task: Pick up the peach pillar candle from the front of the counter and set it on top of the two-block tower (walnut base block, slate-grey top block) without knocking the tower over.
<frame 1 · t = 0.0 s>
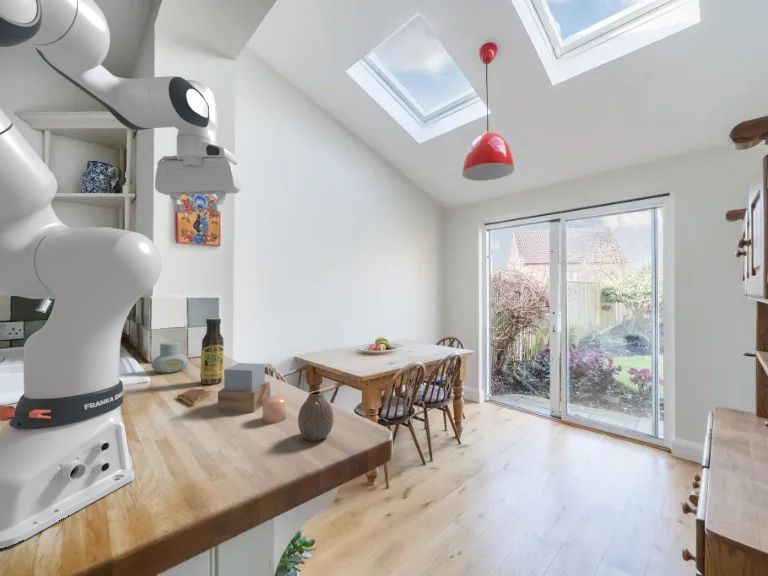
hand: (198, 211, 84), 48 cm above the countertop, tool pointing down, fingers open, 8 cm apart
peach pillar candle: (274, 419, 78), on the countertop
top block: (245, 386, 87), point 5 cm above the countertop, touching base block
toasted sandwich: (199, 400, 92), on the countertop
sauce bottle: (212, 383, 106), on the countertop
base block: (245, 406, 87), on the countertop, touching top block
air freshener: (170, 372, 121), on the countertop
vase: (316, 437, 69), on the countertop
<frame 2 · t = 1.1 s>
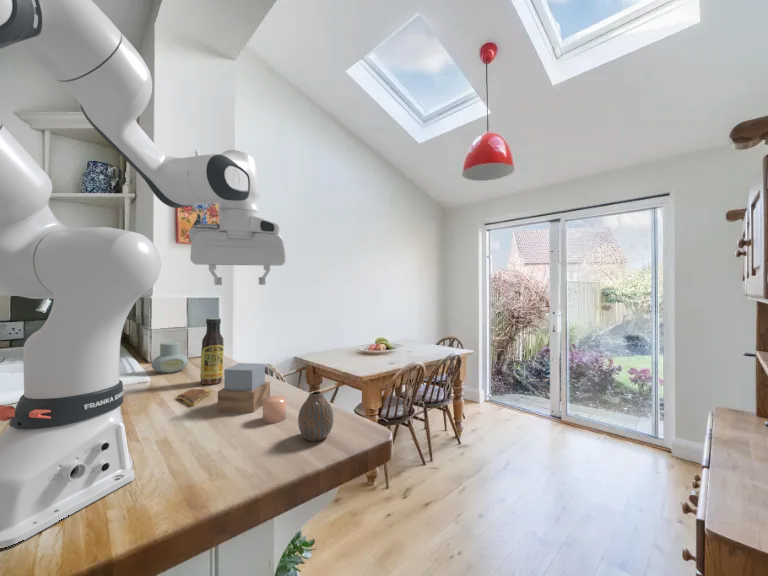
hand: (240, 284, 80), 30 cm above the countertop, tool pointing down, fingers open, 8 cm apart
nothing on the countertop moved.
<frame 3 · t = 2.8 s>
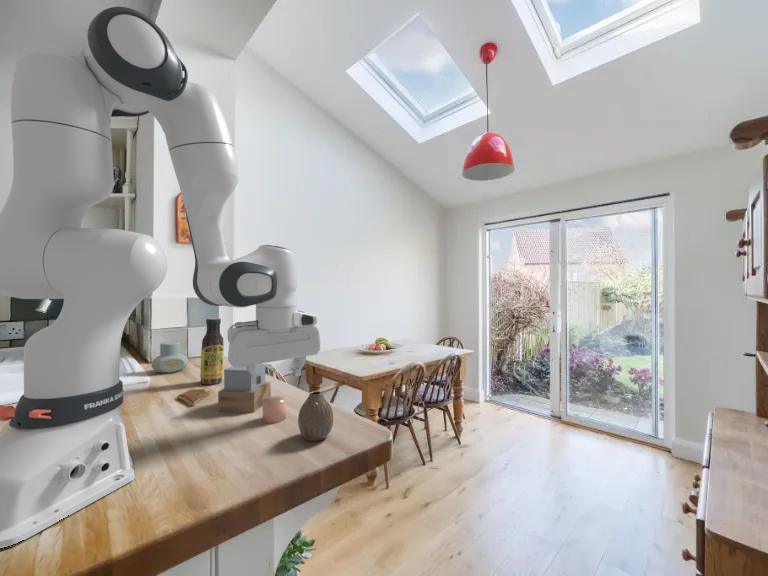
hand: (277, 379, 78), 9 cm above the countertop, tool pointing down, fingers open, 8 cm apart
nothing on the countertop moved.
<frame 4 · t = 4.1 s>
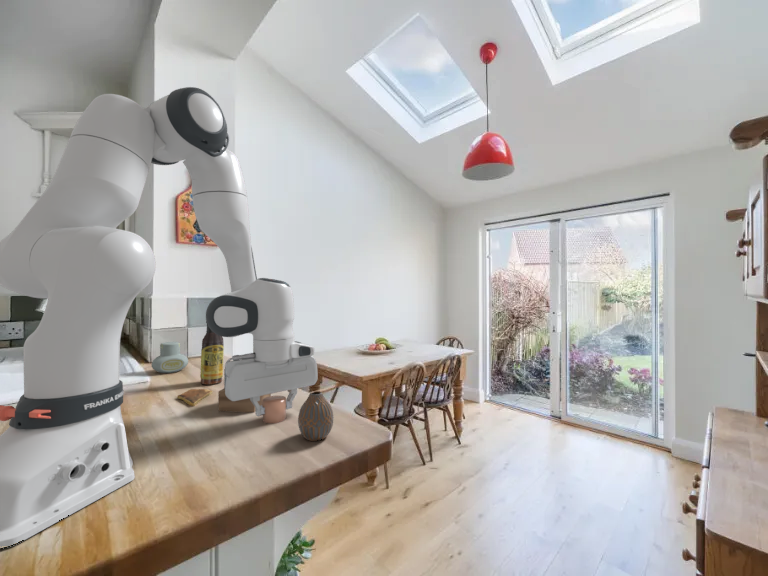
hand: (274, 411, 78), 2 cm above the countertop, tool pointing down, fingers closed on peach pillar candle, 5 cm apart
peach pillar candle: (274, 418, 78), on the countertop, touching gripper
everything else where it was.
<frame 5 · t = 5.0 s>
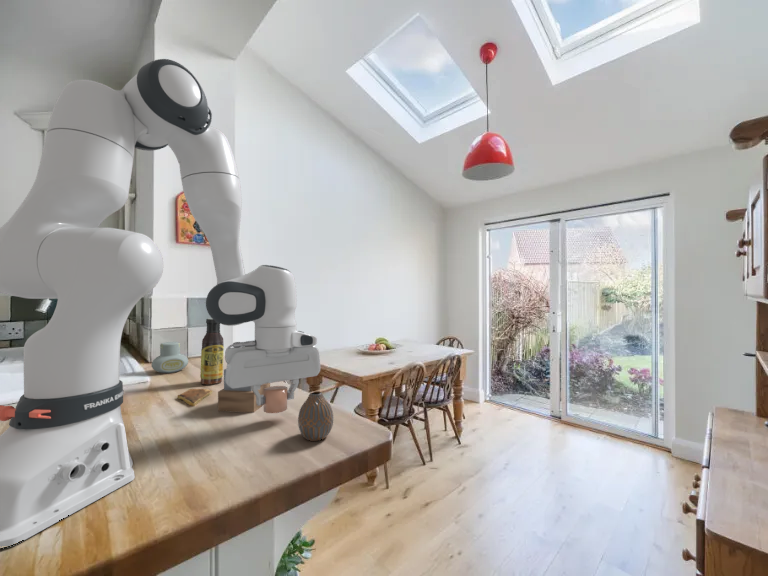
hand: (275, 401, 76), 4 cm above the countertop, tool pointing down, fingers closed on peach pillar candle, 5 cm apart
peach pillar candle: (275, 409, 76), point 3 cm above the countertop, touching gripper
everything else where it was.
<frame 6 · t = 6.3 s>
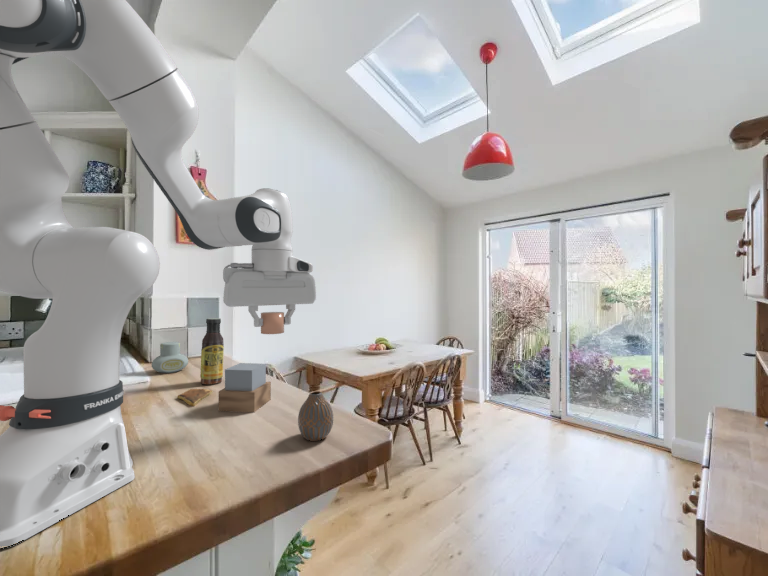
hand: (272, 325, 78), 21 cm above the countertop, tool pointing down, fingers closed on peach pillar candle, 5 cm apart
peach pillar candle: (272, 332, 78), point 19 cm above the countertop, touching gripper
top block: (246, 386, 87), point 5 cm above the countertop
base block: (245, 406, 87), on the countertop
everything else where it was.
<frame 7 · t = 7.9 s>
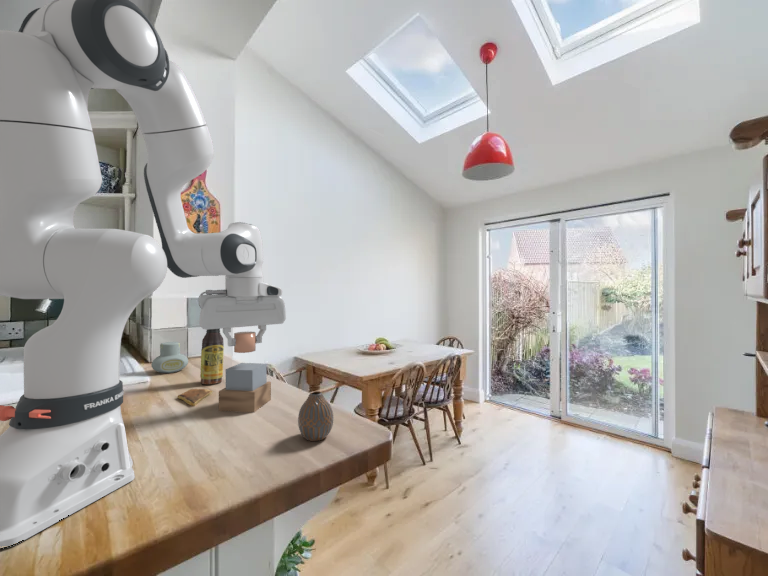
hand: (245, 344, 87), 15 cm above the countertop, tool pointing down, fingers closed on peach pillar candle, 5 cm apart
peach pillar candle: (245, 350, 87), point 14 cm above the countertop, touching gripper
top block: (246, 386, 87), point 5 cm above the countertop, touching base block
base block: (246, 406, 87), on the countertop, touching top block
everything else where it was.
when the fingers open (13 cm above the countertop, at t = 8.8 s): peach pillar candle drops 1 cm, resting on top block.
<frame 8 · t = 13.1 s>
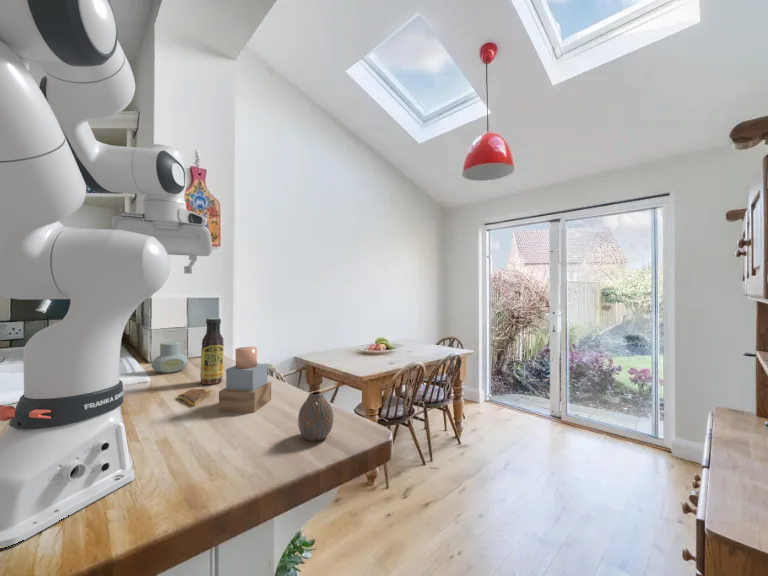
hand: (166, 273, 84), 33 cm above the countertop, tool pointing down, fingers open, 8 cm apart
peach pillar candle: (246, 366, 87), point 10 cm above the countertop, touching top block
top block: (247, 386, 87), point 5 cm above the countertop, touching base block, peach pillar candle
everything else where it was.
at the end: peach pillar candle 0.2 cm off-centre on the top block, point 5.0 cm above the top block's base; top block 0.2 cm off-centre on the base block, point 5.0 cm above the base block's base; base block moved 0.4 cm from its start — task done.
